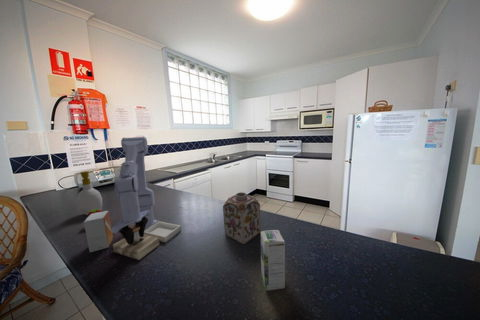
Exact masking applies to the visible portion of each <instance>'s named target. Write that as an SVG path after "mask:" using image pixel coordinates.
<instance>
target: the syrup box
mask: <svg viewBox="0 0 480 320" xmlns="http://www.w3.org/2000/svg"><path fill="white" fill-rule="evenodd" d="M283 237H284V236H283V235H282V234H281V232H280V230H278V229H269V230H261V232H260V267H261V269H260V271H261V272H260V273H261V278H262V283H263V287H264V290H265V292H266V291H267V292H268V291H275V290H281V289H285V288H286V242H285V239H284V238H283Z"/></svg>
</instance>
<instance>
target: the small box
mask: <svg viewBox="0 0 480 320" xmlns="http://www.w3.org/2000/svg"><path fill="white" fill-rule="evenodd" d="M111 224H112V223H111V217H110V212H109V210H104V211H103V212H98V213H93V214H90V216H89V217H88V216H87V217H86V219H85V220H84V221H83V226H84V231H85V235H86V239H87V245H88V246H87V247H88V249H89V253H94V252H97V251H100V250H104V249H107V248H110V245H111V242H112V241H113V238H114V235H113V234H114V233H112V231H111V227H112V225H111Z"/></svg>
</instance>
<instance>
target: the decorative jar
mask: <svg viewBox="0 0 480 320" xmlns="http://www.w3.org/2000/svg"><path fill="white" fill-rule="evenodd" d="M222 213H223V228H224V235H225V236H227V237H229V238H231V239H233V240H235V241H237V242H238V243H240V244H241V245H245V244H247V243H248V242H249V241H251V240H252V239H254V237H256V236H257V235H259V234H261V232H262V222H261V217H262V216H261V204H260V202H259V201H258V200H257V199H256V198H255V196H253V195H250V194H247V192H244V191H243V192H241V191H240V192H237V193H236V194H234V195H232V196H230V197H228V198H227V200H226V201H225V202H224V204H223V206H222Z"/></svg>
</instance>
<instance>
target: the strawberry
mask: <svg viewBox="0 0 480 320" xmlns="http://www.w3.org/2000/svg"><path fill="white" fill-rule="evenodd" d="M92 208H93V207H92ZM98 212H104V211H102V210H100V209H99V208H98V209H92V211H90V212H88V215H87V218H88V217H89V216H90V214H93V213H98Z"/></svg>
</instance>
